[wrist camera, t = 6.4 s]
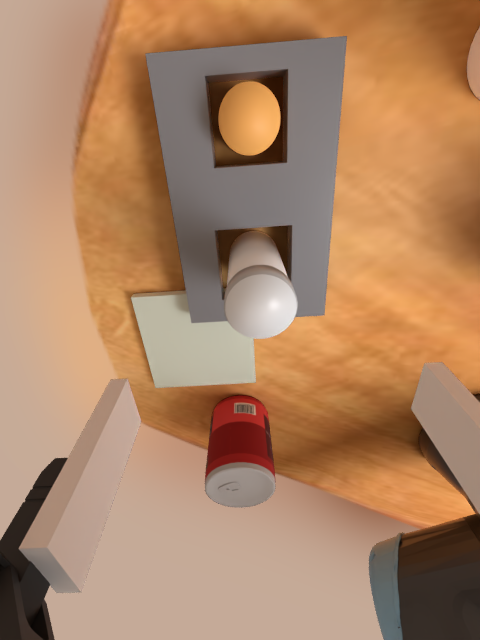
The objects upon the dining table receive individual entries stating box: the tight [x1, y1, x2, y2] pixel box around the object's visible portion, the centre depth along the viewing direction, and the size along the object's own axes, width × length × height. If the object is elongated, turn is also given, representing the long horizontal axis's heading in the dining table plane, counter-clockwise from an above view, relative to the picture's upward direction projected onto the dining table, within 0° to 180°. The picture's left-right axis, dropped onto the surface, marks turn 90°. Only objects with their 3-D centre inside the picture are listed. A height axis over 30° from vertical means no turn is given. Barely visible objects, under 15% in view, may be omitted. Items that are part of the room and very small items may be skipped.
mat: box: [131, 288, 256, 388], centre depth 37 cm, size 13×13×1 cm
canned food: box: [205, 395, 276, 507], centre depth 39 cm, size 8×8×11 cm
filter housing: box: [146, 36, 347, 323], centre depth 28 cm, size 22×14×3 cm, turn 4°
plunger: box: [218, 81, 281, 155], centre depth 23 cm, size 4×4×4 cm
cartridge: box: [224, 231, 298, 339], centre depth 27 cm, size 5×5×12 cm
